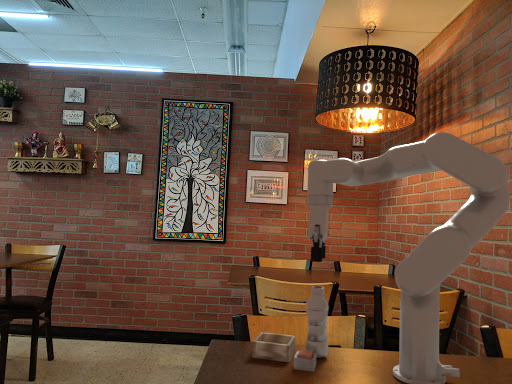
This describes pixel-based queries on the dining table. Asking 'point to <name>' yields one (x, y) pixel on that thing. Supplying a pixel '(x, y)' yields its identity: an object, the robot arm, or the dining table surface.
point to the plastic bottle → (317, 322)
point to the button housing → (305, 363)
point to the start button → (305, 354)
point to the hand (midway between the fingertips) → (318, 259)
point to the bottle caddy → (274, 347)
